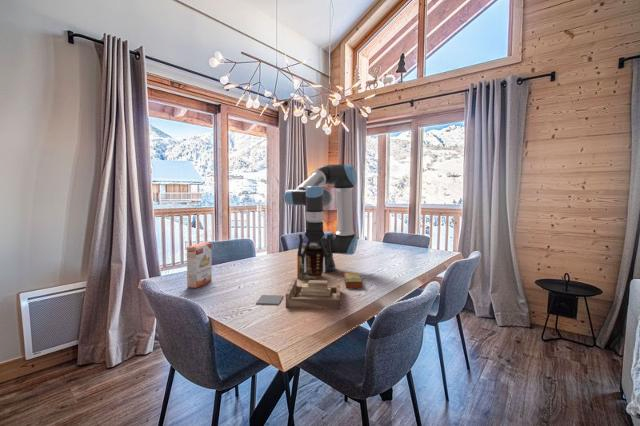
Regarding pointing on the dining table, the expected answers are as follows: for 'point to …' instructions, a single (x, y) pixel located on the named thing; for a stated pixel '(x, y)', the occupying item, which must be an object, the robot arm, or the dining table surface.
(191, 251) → the cracker box
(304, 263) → the robot arm
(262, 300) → the coaster
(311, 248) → the coffee cup
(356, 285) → the carton
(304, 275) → the milk carton
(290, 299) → the brown wooden tray
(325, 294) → the offcut stack
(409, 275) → the dining table surface
